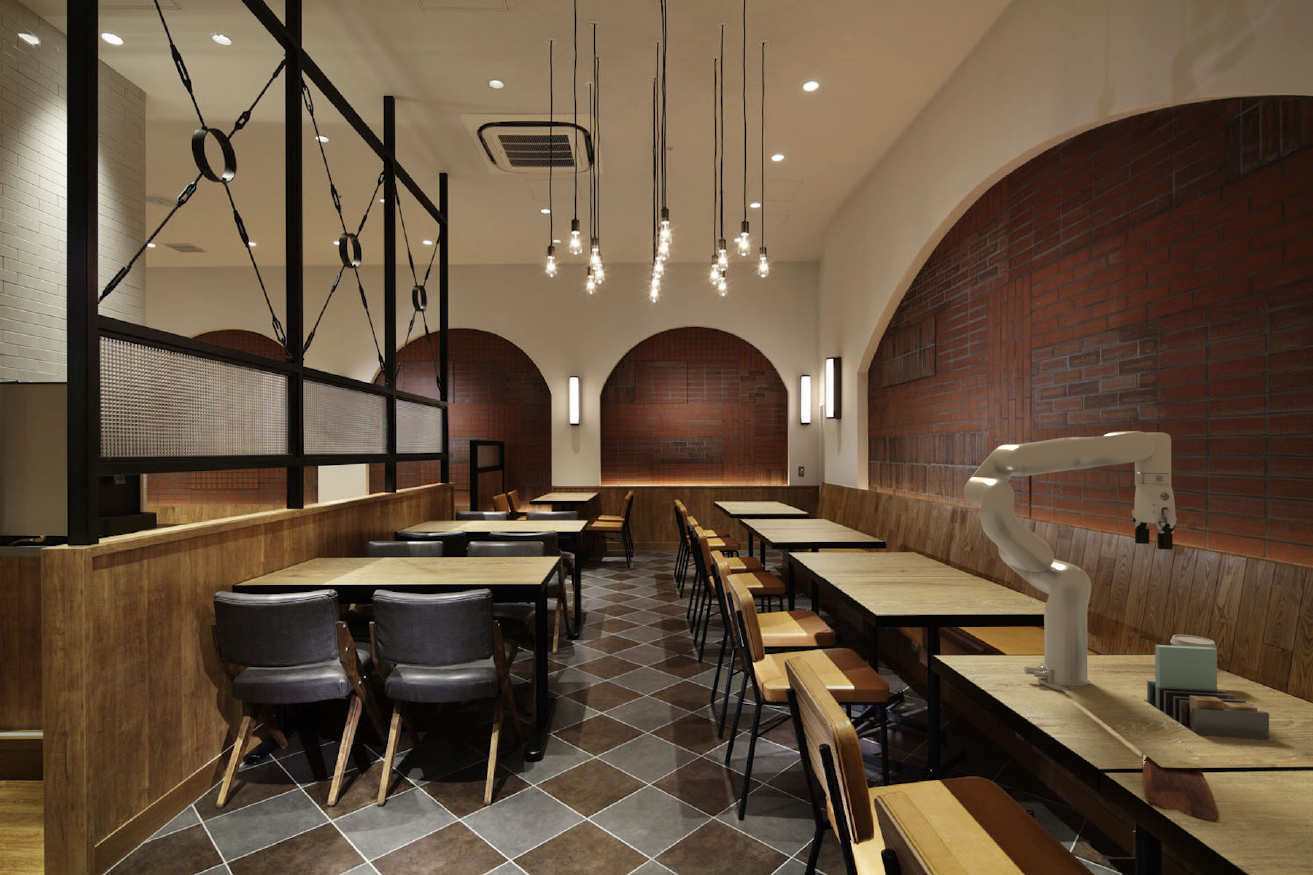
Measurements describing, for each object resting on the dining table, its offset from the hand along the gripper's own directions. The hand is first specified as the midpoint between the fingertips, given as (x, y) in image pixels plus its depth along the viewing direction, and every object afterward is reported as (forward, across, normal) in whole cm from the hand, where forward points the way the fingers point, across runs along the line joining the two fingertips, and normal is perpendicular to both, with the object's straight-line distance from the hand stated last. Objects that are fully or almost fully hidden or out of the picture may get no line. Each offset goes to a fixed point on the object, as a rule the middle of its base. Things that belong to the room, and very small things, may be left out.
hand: (1153, 546), depth 171 cm
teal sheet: (+35, -18, +3) cm, 39 cm away
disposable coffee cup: (+36, +3, -11) cm, 38 cm away
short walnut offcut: (+35, -30, 0) cm, 46 cm away
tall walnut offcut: (+35, -30, +6) cm, 46 cm away
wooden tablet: (+37, -52, +25) cm, 69 cm away
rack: (+36, -24, +3) cm, 44 cm away
